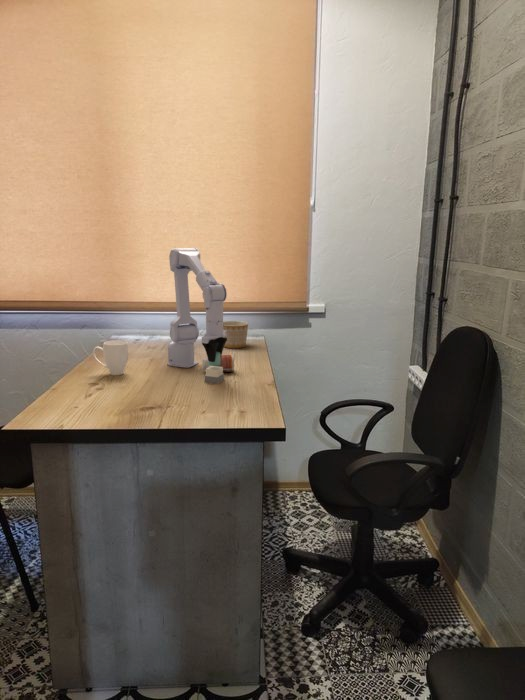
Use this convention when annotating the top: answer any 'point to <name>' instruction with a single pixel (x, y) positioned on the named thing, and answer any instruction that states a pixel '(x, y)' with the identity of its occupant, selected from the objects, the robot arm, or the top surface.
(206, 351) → the robot arm
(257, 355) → the top surface
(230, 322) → the planter
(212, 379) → the tower base block
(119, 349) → the mug
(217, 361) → the teal cylinder
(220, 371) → the tower top block
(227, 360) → the pill bottle
